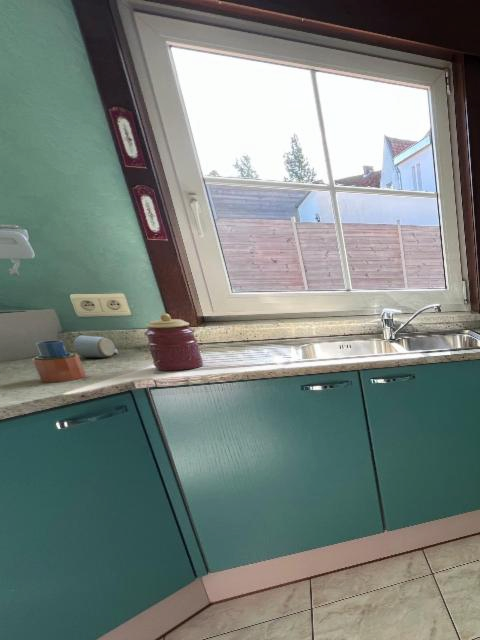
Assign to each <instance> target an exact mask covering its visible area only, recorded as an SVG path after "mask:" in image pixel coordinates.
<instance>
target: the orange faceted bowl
mask: <svg viewBox="0 0 480 640" xmlns="http://www.w3.org/2000/svg"><path fill="white" fill-rule="evenodd" d="M67 354H68V356H63V357H53V358H42V357H41V355H40V354H39V355H36V356H35V357H33V358H31V360H32V362H33V363H32V364H33V365H34V368H35V370H36V372H37V375H38V378H39V381H41V382H42V383H61V382H62V383H63V382H71V381H77V380H81V379H84V378H85V377H87V374H86V372H85V369H84V366H83V363H82V361H81V359H80V355H78V353H72V352H67Z"/></svg>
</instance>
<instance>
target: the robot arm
mask: <svg viewBox="0 0 480 640" xmlns="http://www.w3.org/2000/svg"><path fill="white" fill-rule="evenodd" d="M29 240H30V235H29V233H28V231H27V230H26V229H25V228H24V227H23V226H19V225H18V224H3V223H0V260H1V259H2V260H3V259H4V260H5V259H10V261H11V263H13V264H14V265H13V267H12V268H8V271H9V272H10V275H11V276H20V273H19V267H20V265H21V261H20V260H23V259H24V260H25V259H26V260H30V259H31V260H32V259H34V258H35V256H36V254H35V252H34V249H33V247H32V245H31V244H30V242H29Z"/></svg>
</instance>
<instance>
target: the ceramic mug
mask: <svg viewBox="0 0 480 640" xmlns="http://www.w3.org/2000/svg"><path fill="white" fill-rule="evenodd" d="M73 348H74V351H75V352H76V354H77V355H78V356H79V357H82V358H85V359H86V358H89V359H92V358H93V359H94V358H100V359H104V358H110V357H112V356H113V355H118V353H119V350H118V349H117V348H116V346H115V344H114V342H113V341H112V340H111V339H109V338H107V337H103V336H93V335H92V336H91V335H78V336H76V338H75V339H74V341H73Z"/></svg>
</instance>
